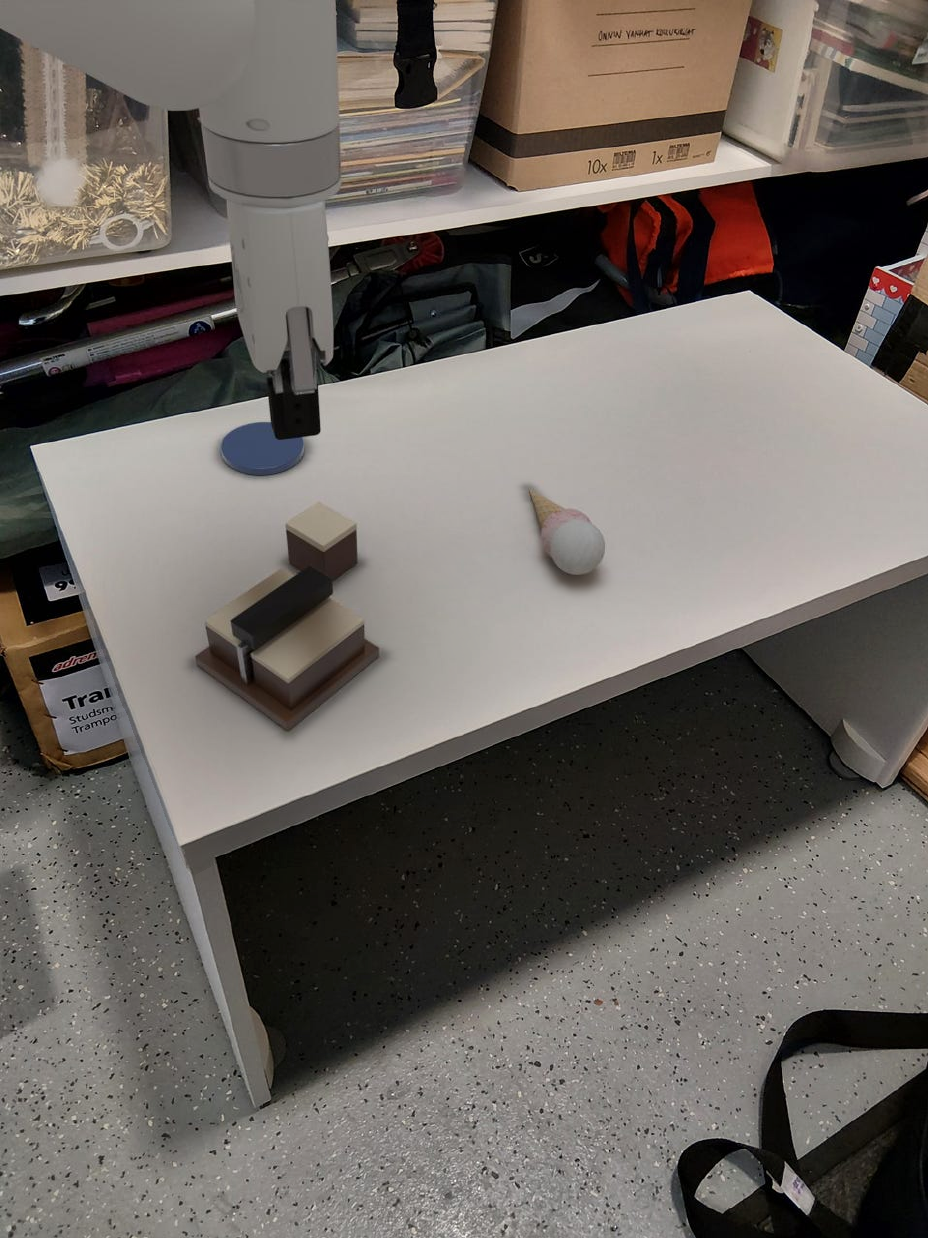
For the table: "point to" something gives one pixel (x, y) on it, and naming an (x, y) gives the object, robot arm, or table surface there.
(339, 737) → the table surface
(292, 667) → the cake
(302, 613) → the black and silver bar
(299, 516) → the two-tone brown cube
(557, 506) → the ice cream cone
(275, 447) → the plate
